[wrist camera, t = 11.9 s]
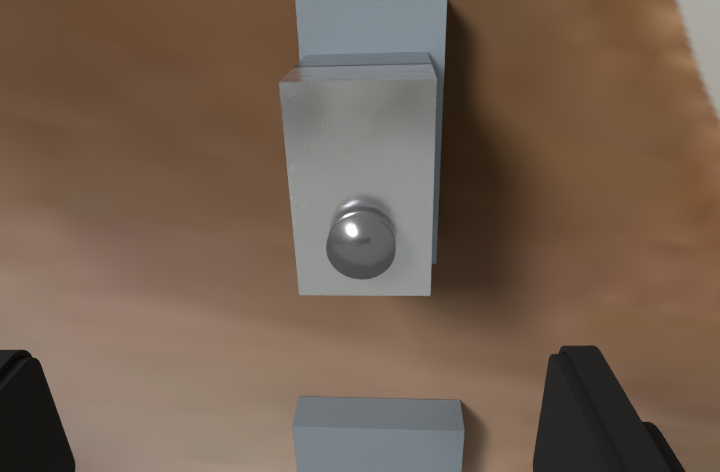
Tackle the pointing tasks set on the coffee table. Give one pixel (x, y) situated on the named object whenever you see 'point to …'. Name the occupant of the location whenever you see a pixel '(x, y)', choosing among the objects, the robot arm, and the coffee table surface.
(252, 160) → the coffee table surface
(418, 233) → the block
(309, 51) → the stand
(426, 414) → the stand
